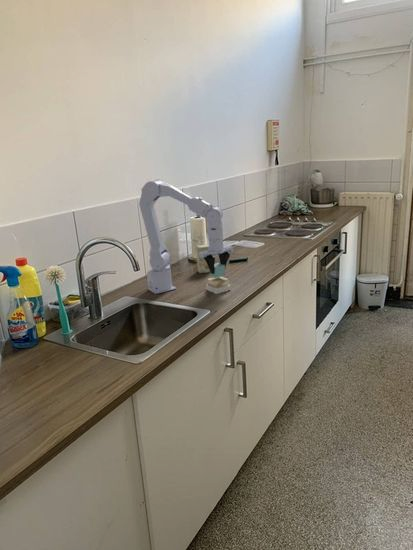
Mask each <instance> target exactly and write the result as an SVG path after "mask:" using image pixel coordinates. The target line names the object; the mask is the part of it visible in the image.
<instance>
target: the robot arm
mask: <svg viewBox="0 0 413 550" xmlns="http://www.w3.org/2000/svg"><path fill="white" fill-rule="evenodd" d="M140 190H141V194H140V197H139V198H140V199H139V204H138V205H139V209H140V213H141V216H142V220H143V224H144V227H145V231H146V235H147V240H148V242H149V246H150V249H149V256H150V257H149V258H150V259H149V266H150V267H151V268H152V269H151V270H148V271H147V273H146V279H147V287H148V288H147V290H149V292H151V293H152V294H155V295H156V294H160V293H161V294H162V293H165V292H169V291H173V290H174V291H175V290H176V289H177V287H176V286H173V283H172V272H171V265H170V263H171V261H172V255H171V253H170V251H169V250H168V247H167V246H166V244H165V243H164V240H163V237H162V232H161V229H160V226H159V222H158V218H157V213H156V210H155V204H156V203H157V201H158V200H159V198H160V197H161V198H165V197H170V198H171V199H174V200H176V201H178V202H180V203H183V204H184V205H186V206H187V207H188V209H189V211H191V212H193V213H194V214H196V215H198V216H199V217H201V218H203V219H205V220H206V222H207V236H208V237H207V238H208V240H207V241H208V245H209V250H206V251H203V252H199V257H200V258H204V259H205V261H206V262H207V264H208V267H209V270H210V272H209V274H210V273H211V274H214V271H215V269H214V264H216V263H215V261H216V258H215V257H214V256H216V255H218V258H219V263H221V264H223V265H225V269H226V267H227V264H228V262H229V261H228V260H229V258H230V256H231V253H233V252H234V247H233V246H232V245H231V246H230V245H228V246H224V231H223V221H222V220H223V215H224V212H223V210H222V208H220V207H219V206H218V205H217V206H216V205H214V204H213V203H209V202H207V201H205V200H204V198H203V197H201V196H199V197H198V196H195V197H192V196H190V195H188V194H186V193H185V192H183V191H181V190H180V189H179V188H177V187H175V186H174V185H172V184H170V183H168V182H166V181H163V180H162V179H160V178H159V179H155V180H150V181H147V182H145V184H144V185H143V186H142V188H141V189H140ZM230 252H231V253H230Z"/></svg>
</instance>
